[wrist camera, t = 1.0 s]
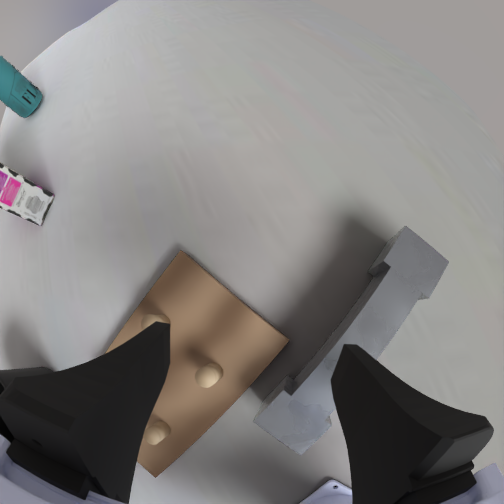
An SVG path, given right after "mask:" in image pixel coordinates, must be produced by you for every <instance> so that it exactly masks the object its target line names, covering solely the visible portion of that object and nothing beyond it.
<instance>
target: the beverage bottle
mask: <svg viewBox="0 0 504 504" xmlns="http://www.w3.org/2000/svg"><path fill="white" fill-rule="evenodd" d="M40 91H41V90H40ZM40 91H39V90H38V89H37V87H35V86H34V85H33V84H32V82H31V81H30V82H29V81H28V80H27V79H26V78H25V77H24V76H23V75H22V74H21V73H20V72H18V71H17V70H16V69H15V68H14V67H13V65H11V64H10V63H8V62H7V61H6V60H5V59H4V58H3V56H0V100H1V101H3V103H5V104H6V106H7V107H10V108H11V109H12V111H13V112H14V111H15V112H16V113H17V114H18V115H19V116H21V117H23V118H26V117H28V116H29V115H30V114H31V113H32V112H33V111H34V110H35V109H36V107H37V106H38V104H39V103H40V101H41V99H42V93H41V92H40ZM10 108H9V109H10Z"/></svg>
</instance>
